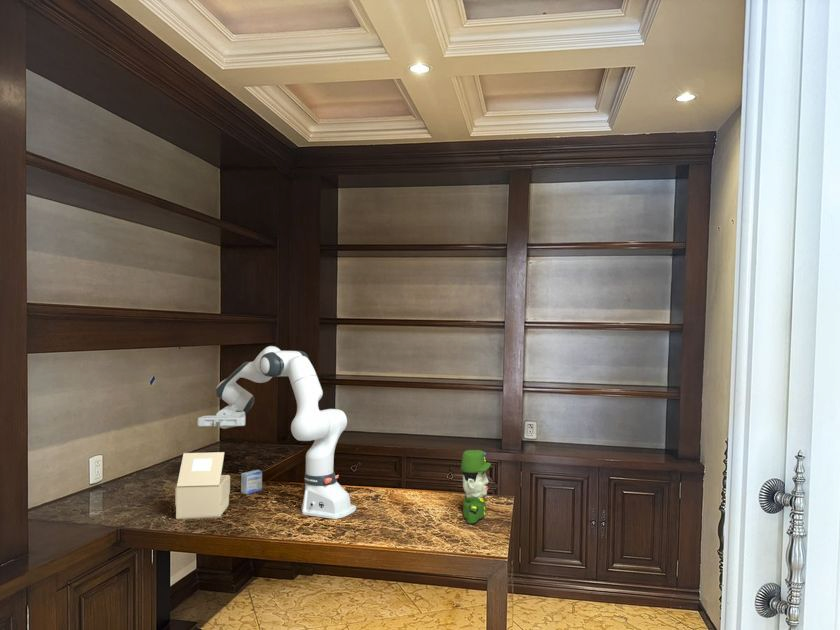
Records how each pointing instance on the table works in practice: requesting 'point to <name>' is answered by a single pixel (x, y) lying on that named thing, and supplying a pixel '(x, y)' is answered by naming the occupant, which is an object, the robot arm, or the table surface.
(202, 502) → the carton
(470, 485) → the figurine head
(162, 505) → the table surface
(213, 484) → the carton flap
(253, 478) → the medicine box
